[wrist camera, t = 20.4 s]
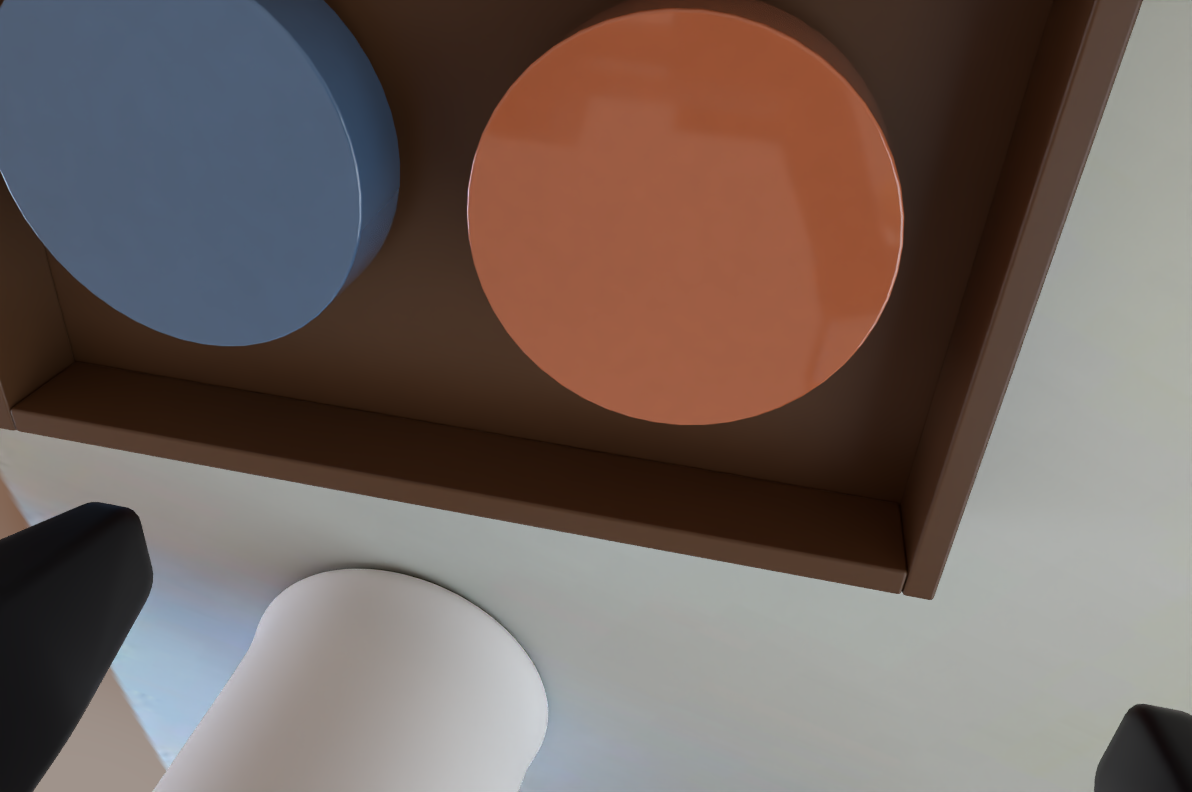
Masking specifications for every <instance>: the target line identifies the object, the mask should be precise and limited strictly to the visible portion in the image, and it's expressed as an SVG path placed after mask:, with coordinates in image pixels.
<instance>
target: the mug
mask: <svg viewBox="0 0 1192 792" xmlns="http://www.w3.org/2000/svg"><path fill="white" fill-rule="evenodd" d="M547 724H548V703H547V697H546V693H545V689H544V686H543V683H542V680H541V678H540V675H539V673H538V671H537V669H536V667H535V666H534V664H533V662H532V661H531V659H530V657H529V656H528V654H527V653H526V652H525V650H524V649H523V648H522V646H521V645H520V644H519V643H518V642H517V640H516V639H515V638H514V637H513V636H512V635H511V634H510V633H509V632H508V631H507V630H506V629H505V628H504V627H503V626H502V625H501V624H499V623H498V622H497V621H496V620H495V619H494V618H492V617H491V616H490V615H488V614H487V613H486V612H484V611H483V610H482V609H480V608H479V607H477V606H476V605H474V604H473V603H471V602H469V601H468V600H466V599H464V598H463V597H461V596H459V595H457V594H455V593H453V592H451V591H449V590H447V589H445V588H442V587H440V586H438V585H435V584H433V583H430V582H427V581H425V580H422V579H419V578H415V577H412V576H408V575H404V574H400V573H395V572H390V571H383V570H375V569H341V570H333V571H327V572H323V573H319V574H316V575H312V576H310V577H307V578H305V579H302V580H300V581H298V582H296V583H294V584H293V585H291V586H290V587H288V588H287V589H285V590H284V591H283V592H281V593H280V594H279V595H278V596H277V597H276V598H275V599H274V600H273V601H272V602H271V604H270V605H269V606H268V608H267V609H266V611H265V612H264V614H263V616H262V618H261V620H260V622H259V625H258V627H257V630H256V633H255V636H254V639H253V642H252V644H251V646H250V647H249V649H248V651H247V653H246V654H245V656H244V658H243V659H242V661H241V662H240V664H239V665H238V667H237V668H236V670H235V671H234V673H233V674H232V676H231V677H230V679H229V680H228V682H227V683H226V685H225V686H224V688H223V689H222V691H221V692H220V694H219V695H218V697H217V698H216V700H215V701H214V703H213V704H212V705H211V707H210V708H209V710H208V711H207V713H206V714H205V716H204V717H203V719H202V720H201V722H200V723H199V724H198V726H197V727H196V729H195V730H194V732H193V733H192V735H191V736H190V738H189V739H188V740H187V742H186V743H185V745H184V746H183V748H182V749H181V751H180V752H179V754H178V755H177V756H176V758H175V759H174V761H173V762H172V764H171V765H170V767H169V768H168V770H167V771H166V772H165V774H164V775H163V777H162V778H161V780H160V781H159V783H158V784H157V786H156V787H155V788H154V790H153V791H152V792H519V789H520V786H521V784H522V781H523V778H524V776H525V773H526V771H527V769H528V767H529V765H530V764H531V762H532V761H533V759H534V758H535V756H536V755H537V753H538V751H539V749H540V747H541V745H542V743H543V740H544V737H545V734H546V730H547Z"/></svg>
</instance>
